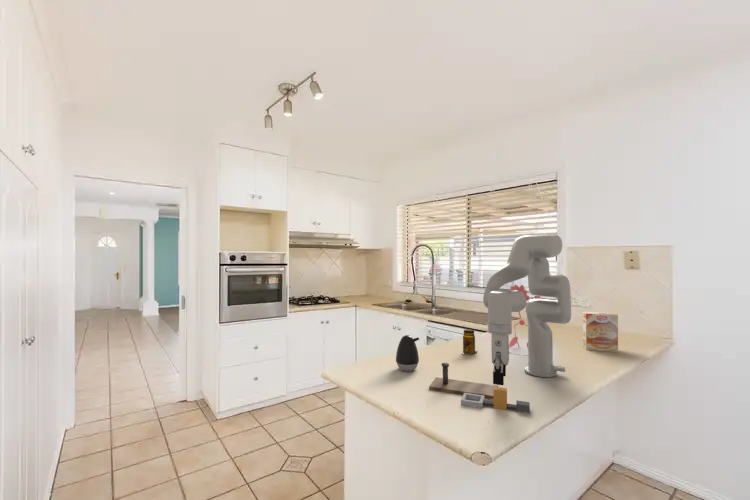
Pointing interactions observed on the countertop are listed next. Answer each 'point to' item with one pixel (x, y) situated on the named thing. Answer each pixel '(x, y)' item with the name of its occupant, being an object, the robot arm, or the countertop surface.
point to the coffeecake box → (600, 331)
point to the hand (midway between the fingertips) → (499, 379)
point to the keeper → (461, 385)
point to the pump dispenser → (407, 353)
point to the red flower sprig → (519, 313)
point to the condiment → (469, 342)
